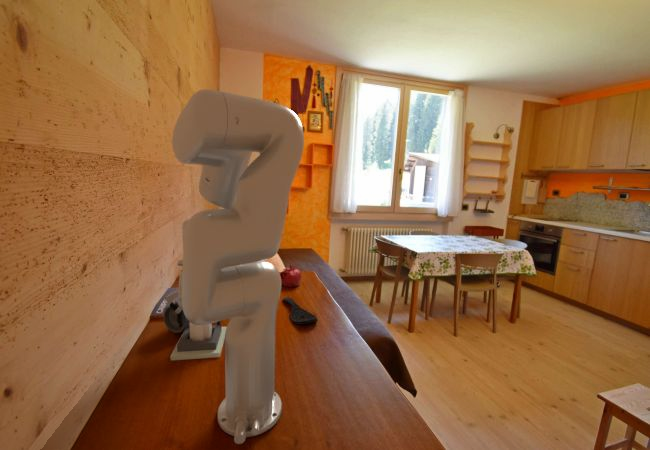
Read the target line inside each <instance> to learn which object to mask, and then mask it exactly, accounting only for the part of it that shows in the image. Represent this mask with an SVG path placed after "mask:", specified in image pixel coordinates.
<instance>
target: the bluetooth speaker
mask: <svg viewBox="0 0 650 450" xmlns="http://www.w3.org/2000/svg"><path fill="white" fill-rule="evenodd" d="M175 302H176V303H178V300H177V301H175ZM163 322H164V324H165V326H166V329H168V330H169V331H170V332H172V333H181V332H182V333H183V332H184V330H185V329H186V327H190V322H189V321H188V320H187V318H186V317H185V323H184V325H183V327H179V323H177V313H175V311H174V310H173V309H172V308H171V307H170V306H169V305H168V306H167V307H165V309H164V311H163Z"/></svg>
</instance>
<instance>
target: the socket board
mask: <svg viewBox="0 0 650 450" xmlns="http://www.w3.org/2000/svg"><path fill="white" fill-rule="evenodd" d="M226 329H227V326H222V324H220V325H217V324H215V325H214V324H212V337H211V338H206V339H205V340H201V341H192V339H190V327H186V329H185V330H184V331H182V334H181V336H180V337H179V340H178V341H177V343H176V344H175V347H174V349H173V350H172V353H171V354H170V356H169V357H170V361H182V360H183V361H185V360H195V359H210V358H220V357H221V354H222V351H223V347H224V344H225V333H226Z"/></svg>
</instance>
